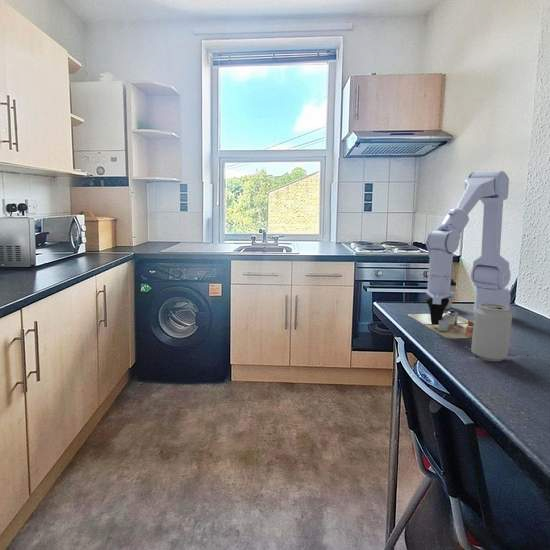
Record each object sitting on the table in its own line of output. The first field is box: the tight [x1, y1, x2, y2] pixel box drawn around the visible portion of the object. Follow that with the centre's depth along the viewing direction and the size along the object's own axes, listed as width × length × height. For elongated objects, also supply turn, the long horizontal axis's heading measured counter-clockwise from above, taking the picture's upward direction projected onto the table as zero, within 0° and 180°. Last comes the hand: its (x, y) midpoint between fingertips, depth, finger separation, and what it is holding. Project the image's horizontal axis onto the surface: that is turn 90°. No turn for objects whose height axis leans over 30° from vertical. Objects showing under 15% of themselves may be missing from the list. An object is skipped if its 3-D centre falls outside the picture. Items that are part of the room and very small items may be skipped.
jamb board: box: [406, 309, 474, 340], centre depth 121 cm, size 15×23×5 cm, turn 8°
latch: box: [438, 310, 459, 332], centre depth 118 cm, size 11×3×3 cm, turn 145°
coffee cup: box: [445, 278, 458, 310], centre depth 140 cm, size 7×7×10 cm
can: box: [470, 303, 513, 362], centre depth 98 cm, size 8×8×12 cm
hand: (435, 324), depth 118 cm, fingers closed, pressing on latch
